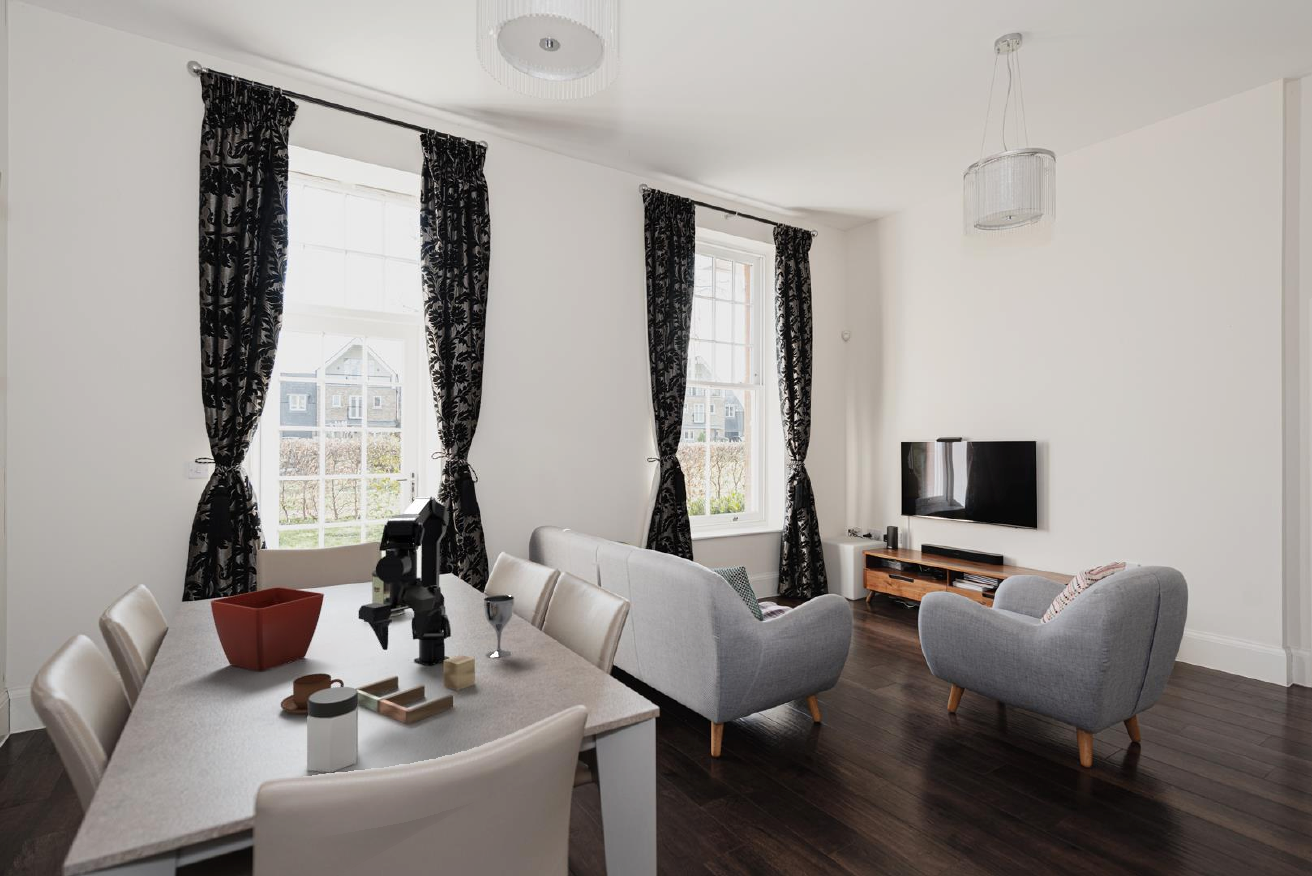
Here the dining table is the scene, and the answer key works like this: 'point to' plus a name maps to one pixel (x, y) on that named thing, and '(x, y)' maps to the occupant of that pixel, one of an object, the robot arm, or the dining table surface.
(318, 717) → the jar
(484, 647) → the dining table surface
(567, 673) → the dining table surface
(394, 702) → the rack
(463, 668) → the block
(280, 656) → the plant pot
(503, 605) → the wine glass
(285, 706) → the cup and saucer
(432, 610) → the robot arm
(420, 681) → the dining table surface
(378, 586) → the coffee can
